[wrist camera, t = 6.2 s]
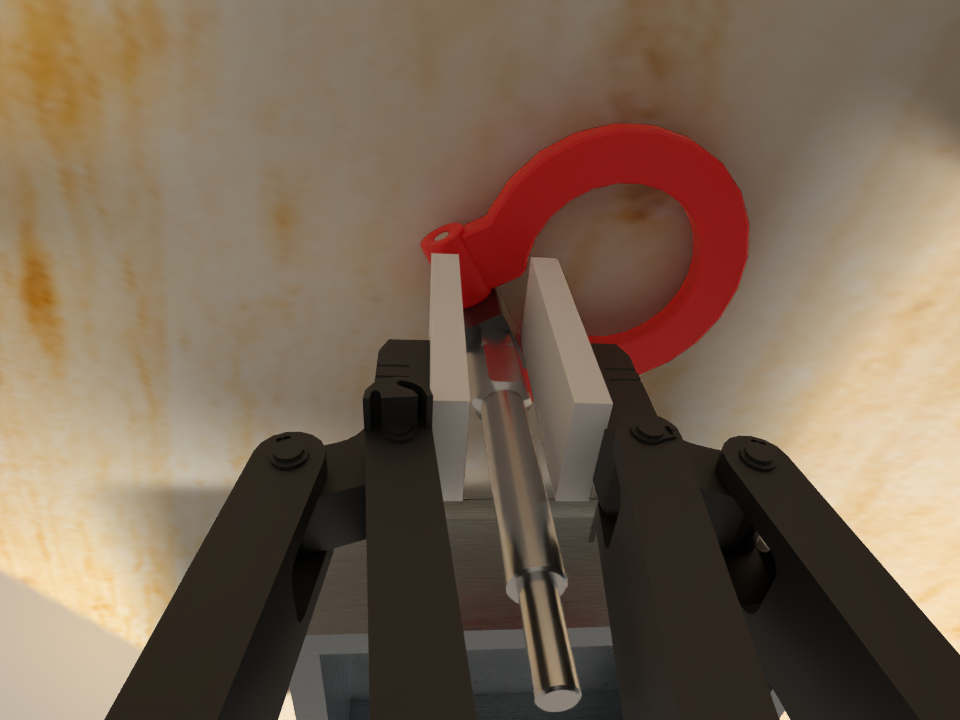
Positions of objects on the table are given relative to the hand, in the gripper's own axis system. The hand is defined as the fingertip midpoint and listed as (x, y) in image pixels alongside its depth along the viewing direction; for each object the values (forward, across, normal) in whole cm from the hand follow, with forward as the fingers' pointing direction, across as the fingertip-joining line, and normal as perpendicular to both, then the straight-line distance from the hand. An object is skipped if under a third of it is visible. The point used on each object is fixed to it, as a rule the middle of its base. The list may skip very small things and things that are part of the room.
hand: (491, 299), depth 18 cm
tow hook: (+2, +4, 0) cm, 4 cm away
